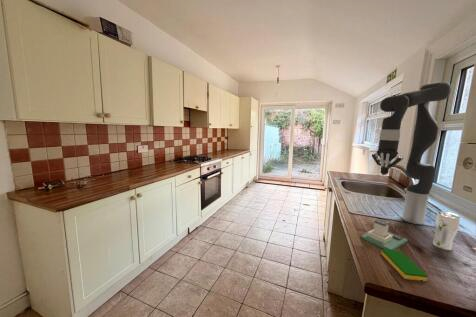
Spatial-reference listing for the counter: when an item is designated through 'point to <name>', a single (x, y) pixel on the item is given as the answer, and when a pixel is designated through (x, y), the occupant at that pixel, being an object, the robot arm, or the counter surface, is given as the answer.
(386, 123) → the robot arm
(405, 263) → the dish sponge
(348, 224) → the counter surface
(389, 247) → the board
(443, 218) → the beer glass
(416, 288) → the counter surface
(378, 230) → the plug
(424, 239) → the counter surface
